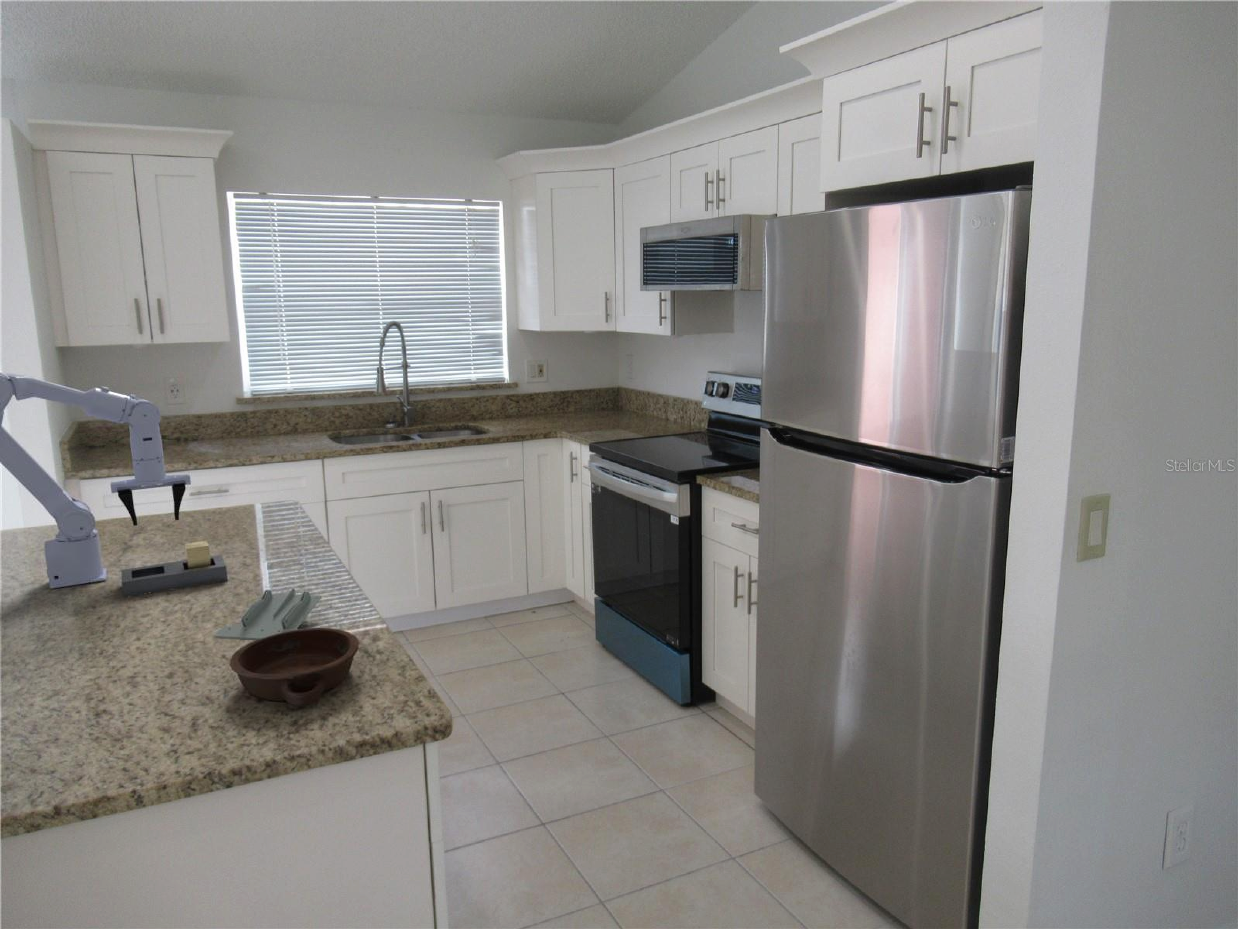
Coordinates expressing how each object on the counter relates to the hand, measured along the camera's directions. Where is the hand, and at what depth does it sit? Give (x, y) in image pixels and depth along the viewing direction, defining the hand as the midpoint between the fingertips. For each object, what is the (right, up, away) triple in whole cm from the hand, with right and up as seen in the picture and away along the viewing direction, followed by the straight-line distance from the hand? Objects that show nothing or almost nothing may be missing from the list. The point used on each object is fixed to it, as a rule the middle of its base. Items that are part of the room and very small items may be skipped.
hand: (156, 522), depth 180 cm
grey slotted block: (+9, -11, -10) cm, 17 cm away
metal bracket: (+38, -16, -33) cm, 53 cm away
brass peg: (+13, -11, -7) cm, 18 cm away
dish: (+50, -20, -55) cm, 77 cm away
